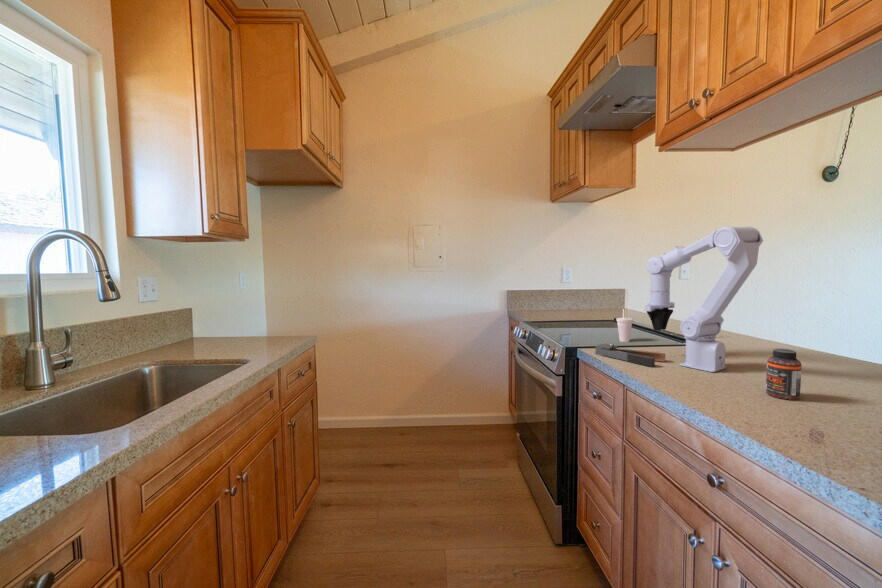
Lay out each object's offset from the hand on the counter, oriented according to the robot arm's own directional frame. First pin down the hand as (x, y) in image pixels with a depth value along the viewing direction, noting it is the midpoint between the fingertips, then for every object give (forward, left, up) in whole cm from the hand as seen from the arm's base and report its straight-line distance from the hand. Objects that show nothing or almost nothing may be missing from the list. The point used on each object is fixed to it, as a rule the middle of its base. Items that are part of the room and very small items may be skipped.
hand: (659, 329), depth 122 cm
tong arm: (+3, +9, -9) cm, 13 cm away
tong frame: (+4, +13, -9) cm, 17 cm away
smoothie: (+22, -13, -10) cm, 27 cm away
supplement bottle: (-37, +14, -10) cm, 41 cm away
